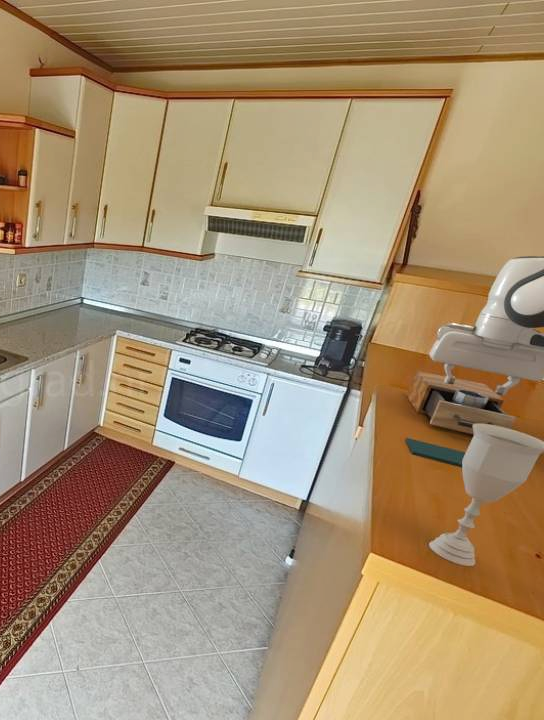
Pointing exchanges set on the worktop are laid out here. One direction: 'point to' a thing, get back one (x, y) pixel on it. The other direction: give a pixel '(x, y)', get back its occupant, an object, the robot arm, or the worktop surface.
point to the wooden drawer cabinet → (444, 389)
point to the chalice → (488, 481)
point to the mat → (436, 452)
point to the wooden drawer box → (463, 413)
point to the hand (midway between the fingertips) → (473, 388)
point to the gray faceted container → (470, 399)
